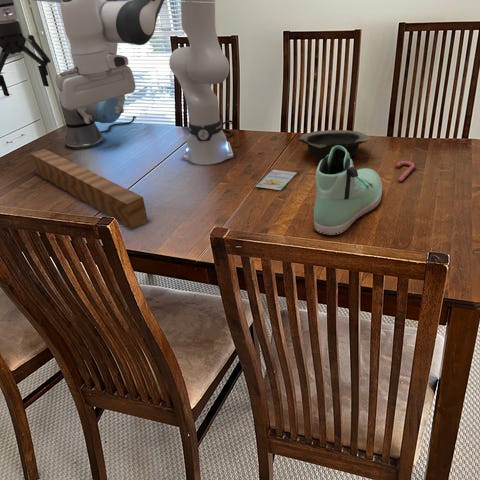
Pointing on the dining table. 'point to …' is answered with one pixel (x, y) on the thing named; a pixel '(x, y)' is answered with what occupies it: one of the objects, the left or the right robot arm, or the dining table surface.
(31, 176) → the dining table surface
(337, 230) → the sneaker
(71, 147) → the left robot arm
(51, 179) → the beam
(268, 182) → the baking ingredient package
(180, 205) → the dining table surface
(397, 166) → the candy cane
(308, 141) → the stone bowl
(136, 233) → the dining table surface
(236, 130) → the dining table surface
